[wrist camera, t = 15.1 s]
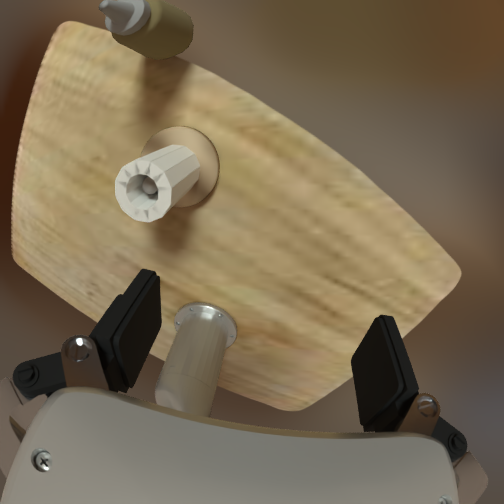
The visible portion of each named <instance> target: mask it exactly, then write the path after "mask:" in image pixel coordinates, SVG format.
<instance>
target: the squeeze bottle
mask: <svg viewBox="0 0 504 504" xmlns="http://www.w3.org/2000/svg"><path fill="white" fill-rule="evenodd" d="M99 10H100V11H101V12H103V13H104V14H105V15H106V19H105V24H106V28H107V29H108V30H109V31H110V32H111V33H112V36H113V38H114V39H115V40H116V41H117V42H118V43H120V44H122V45H124V46H126V47H128V48H130V49H132V50H134V51H136V52H138V53H140V54H142V55H144V56H146V57H148V58H152V59H155V60H158V59H167V58H170V57H172V56H175V55H177V54H179V53H182V52H183V51H184V50H185V49H187V48H188V47H189V45H190V43H191V42H192V38H193V26H194V25H193V23H192V20H191V17H190V16H189V15H188V14H187V13H186V12H184V11H183V10H181V9H179V8H177V7H175V6H173V5H171V4H169V3H167V2H165V1H163V0H118V1H112V0H104V1H103V2H101V3H100V5H99Z"/></svg>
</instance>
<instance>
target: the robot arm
mask: <svg viewBox="0 0 504 504" xmlns="http://www.w3.org/2000/svg"><path fill="white" fill-rule="evenodd" d="M161 323H162V319H161V299H160V277H159V276H157V275H156V272H155V271H151V270H147V269H142V270H141V271H140V272H139V273H138V275H137V276H136V277H135V279H134V280H133V281H132V283H131V284H130V286H129V287H128V288H127V290H126V291H125V292H124V294H123V295H122V294H119V295H118V296H117V297H116V298H115V300H114V301H113V302H112V304H111V305H110V307H109V308H108V309H107V311H106V312H105V314H104V315H103V316H102V318H101V319H100V321H99V322H98V324H97V325H96V326H95V328H94V329H93V331H92V332H91V334H90V335H89V337H88V336H85V335H74V336H72V337H69V338H68V339H67V340H66V341H65V342H64V343H63V344H62V347H61V352H58V353H55V354H51V355H47V356H44V357H40V358H36V359H33V360H29V361H25V362H23V363H21V364H19V365H18V366H17V367H16V369H15V370H14V373H13V377H12V378H10V379H9V378H8V377H6V378H5V379H3V380H1V381H0V468H1V470H2V472H3V473H4V475H5V477H6V479H7V481H6V484H5V488H4V491H3V495H2V499H1V502H0V504H475V502H476V501H477V500H478V499H479V497H480V496H481V494H482V493H483V491H484V490H485V489H486V487H487V484H488V477H487V475H486V473H485V472H484V470H483V469H482V467H481V466H480V465H479V463H478V462H477V460H476V459H475V458H474V456H473V455H472V453H471V452H470V451H468V452H466V450H467V441H466V439H465V437H464V435H463V434H462V433H461V432H459V431H458V430H457V429H455V428H454V427H453V426H451V425H450V424H449V423H448V422H446V421H445V420H443V419H442V418H441V417H440V416H439V415H440V405H439V402H438V401H437V400H436V398H435V397H434V396H432V395H430V394H428V393H420V394H419V392H418V389H419V387H418V384H417V381H416V378H415V375H414V372H413V369H412V366H411V363H410V360H409V357H408V355H407V352H406V349H405V346H404V343H403V341H402V338H401V335H400V333H399V330H398V327H397V325H396V322H395V320H394V318H393V317H392V316H387V315H380V316H379V317H376V318H375V319H374V321H373V323H372V325H371V326H370V328H369V330H368V331H367V333H366V335H365V337H364V338H363V340H362V342H361V343H360V345H359V347H358V348H357V350H356V351H355V353H354V355H353V356H352V359H351V366H352V372H353V378H354V384H355V390H356V396H357V403H358V411H359V418H360V424H361V425H363V428H364V432H370V431H371V432H372V433H331V432H310V431H296V430H285V429H275V428H267V427H259V426H252V425H246V424H239V423H234V422H228V421H222V420H217V419H213V418H210V414H211V409H212V405H213V400H214V396H215V391H216V387H217V383H218V378H219V374H220V370H221V365H222V361H223V357H224V352H225V348H227V347H229V346H231V345H232V344H233V343H234V341H235V339H236V335H237V326H236V324H235V321H234V320H233V318H232V317H231V316H230V315H229V314H228V313H227V312H225V311H224V310H223V309H221V308H219V307H217V306H214V305H211V304H207V303H199V302H198V303H190V304H187V305H185V306H183V307H182V308H180V309H179V311H178V312H177V314H176V316H175V320H174V325H175V328H176V331H177V334H176V337H175V339H174V341H173V344H172V346H171V349H170V351H169V354H168V356H167V358H166V361H165V363H164V366H163V368H162V371H161V374H160V376H159V379H158V381H157V384H156V387H155V399H156V403H157V404H153V403H149V402H147V401H143V400H140V399H137V398H134V397H130V396H127V395H123V394H120V393H118V391H121V392H124V393H127V390H128V388H129V387H130V388H132V387H133V386H134V384H135V382H136V380H137V378H138V375H139V373H140V371H141V369H142V367H143V364H144V362H145V360H146V358H147V356H148V354H149V351H150V349H151V347H152V345H153V343H154V341H155V339H156V337H157V335H158V332H159V330H160V328H161ZM29 425H30V426H29ZM28 426H29V429H28V430H27V428H28ZM26 430H27V432H26ZM374 431H375V432H374Z"/></svg>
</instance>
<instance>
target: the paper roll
mask: <svg viewBox="0 0 504 504" xmlns="http://www.w3.org/2000/svg"><path fill="white" fill-rule="evenodd" d="M199 172H200V164H199V162H198V159H197V157H196V155H195V153H193V152H192V151H191V150H190V149H188V148H187V147H186V146H182V145H170V146H167V147H165V148H162V149H160V150H157V151H155V152H152V153H150V154H148V155H145V156H143V157H141V158H138V159H136V160H134V161H132V162H130V163H129V164H127V165H125V166H123V167H122V168H121V170H120V172H119V174H118V176H117V178H116V180H115V196H116V198H117V200H118V202H119V204H120V207H121V209H122V210H123V211H124V212H125V213H126V214H128V215H129V216H130V217H131V218H133V219H135V220H138V221H143V222H148V223H149V222H152V221H154V220H157V219H159V218H162V217H163V216H164V215H165V214H166V213H167V212H168V211H169V210H170V209H171V208H172V207H173V206H174V205H175V204H176V203H177V202H178V201H179V200H180V199H181V198H182V197H183V196H184V195H185V194H186V193H187V192H188V191H189V190H190V189H191V188H192V187H193V186H194V184H195V183H196V182H197V180H198V179H199ZM147 177H150V178H151V179H153V180H154V181H155V183H156V186H157V188H158V190H157V191H156V192H155V193H153V194H148V193H146V192H145V191H144V190H143V188H142V182H143V180H144V179H145V178H147Z"/></svg>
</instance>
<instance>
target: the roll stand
mask: <svg viewBox="0 0 504 504" xmlns="http://www.w3.org/2000/svg"><path fill="white" fill-rule="evenodd" d="M170 145H182V146H186V147H187V148H188V149H190V150H191V151H192V152H193V153H195V155H196V157H197V159H198V162H199V164H200V172H199V179H198V180H197V182H196V183H195V184H194V186H193V187H192V188H191V189H190V190H189V191H188V192H187V193H186V194H185V195H184V196H183V197H182V198H181V199H180V200H179V201H178V202H177V203H176V204H175V205H174V206H173V207H188V206H191V205H194V204H196V203H198V202H200V201H201V200H203V199H204V198H205V197H206V196H207V195H208V194H209V193H210V191H211V190H212V189H213V187H214V186H215V184H216V182H217V179H218V176H219V169H220V164H219V157H218V154H217V151H216V149H215V147H214V145H213V143H212V142H211V141H210V140H209V138H208V137H206V136H205V135H204V134H203V133H201V132H200V131H198V130H196V129H193V128H190V127H185V126H177V127H171V128H167V129H164V130H162V131H160V132H158V133H156V134H155V135H154V136H152V137H151V138H150V139H149V141H148V142H147V143H146V145H145V147H144V148H143V151H142V154H141V157H143V156H145V155H148V154H150V153H152V152H155V151H157V150H160V149H162V148H165V147H167V146H170ZM142 188H143V190H144V191H145V192H146V193H148V194H153V193H155V192H156V191H157V190H158V188H157V186H156V183H155V181H154V180H153V179H151V178H150V177H147V178H145V179H144V180H143V182H142Z"/></svg>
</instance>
